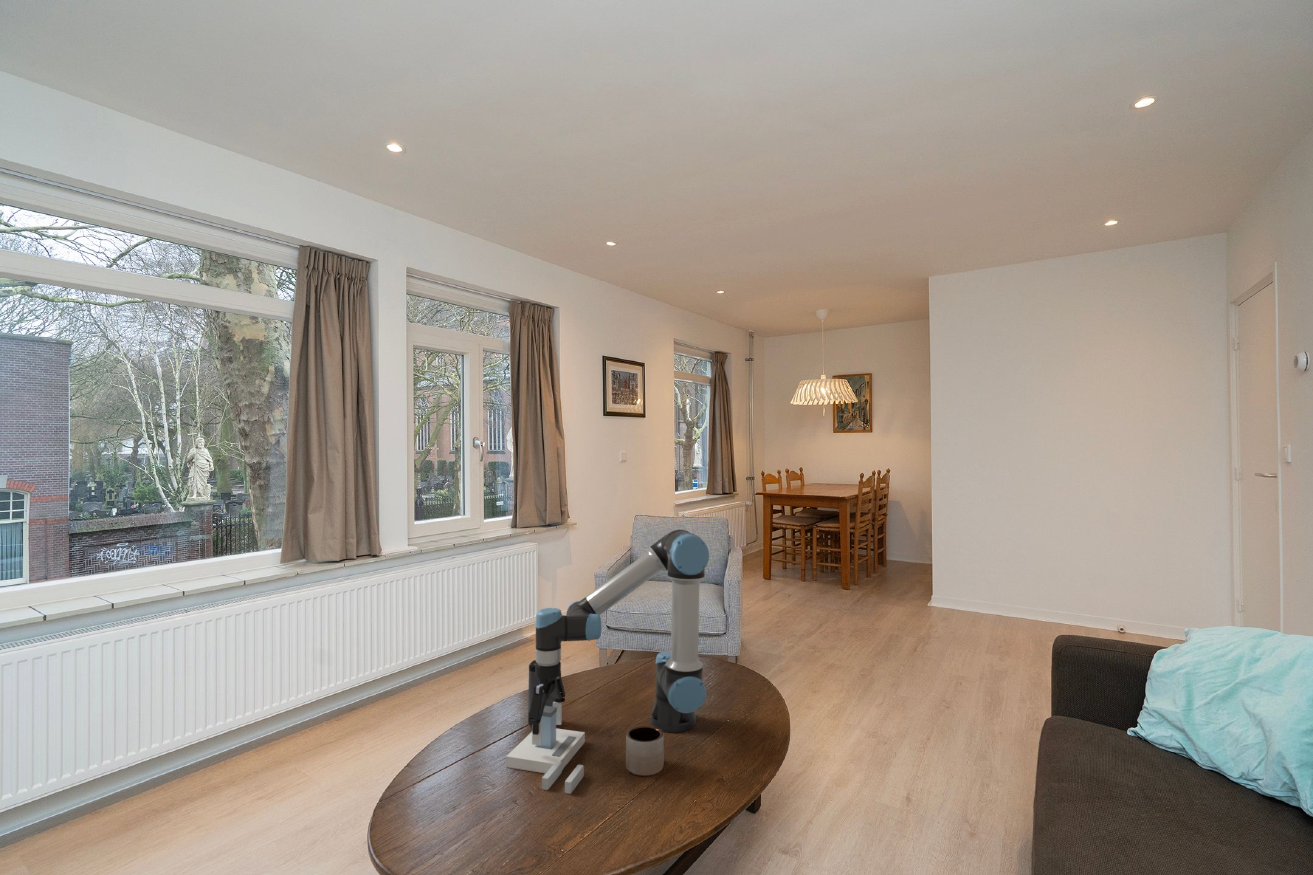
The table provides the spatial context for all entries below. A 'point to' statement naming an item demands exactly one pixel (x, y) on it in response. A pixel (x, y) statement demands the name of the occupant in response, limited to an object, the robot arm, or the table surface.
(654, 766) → the planter
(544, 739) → the plug
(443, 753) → the table surface
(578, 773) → the cradle
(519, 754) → the port plate
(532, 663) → the electronic device
